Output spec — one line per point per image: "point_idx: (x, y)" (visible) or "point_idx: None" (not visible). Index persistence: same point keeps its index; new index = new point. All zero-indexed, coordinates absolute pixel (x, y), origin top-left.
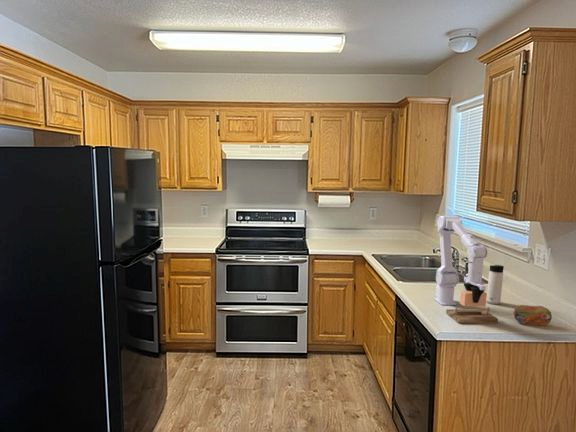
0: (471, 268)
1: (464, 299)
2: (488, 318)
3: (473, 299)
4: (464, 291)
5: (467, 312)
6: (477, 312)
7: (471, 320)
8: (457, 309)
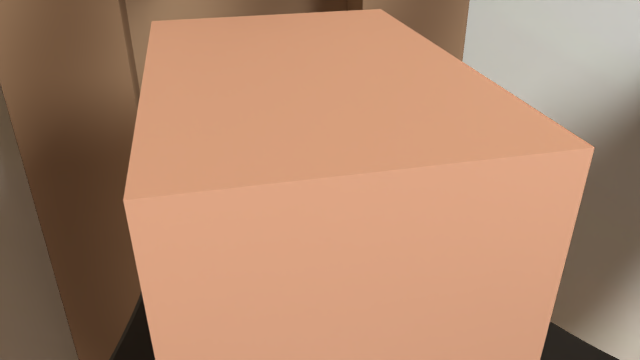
0: None
1: (178, 76)
2: (88, 320)
3: (123, 333)
4: (449, 258)
5: None
6: None
7: (2, 52)
8: (463, 18)
